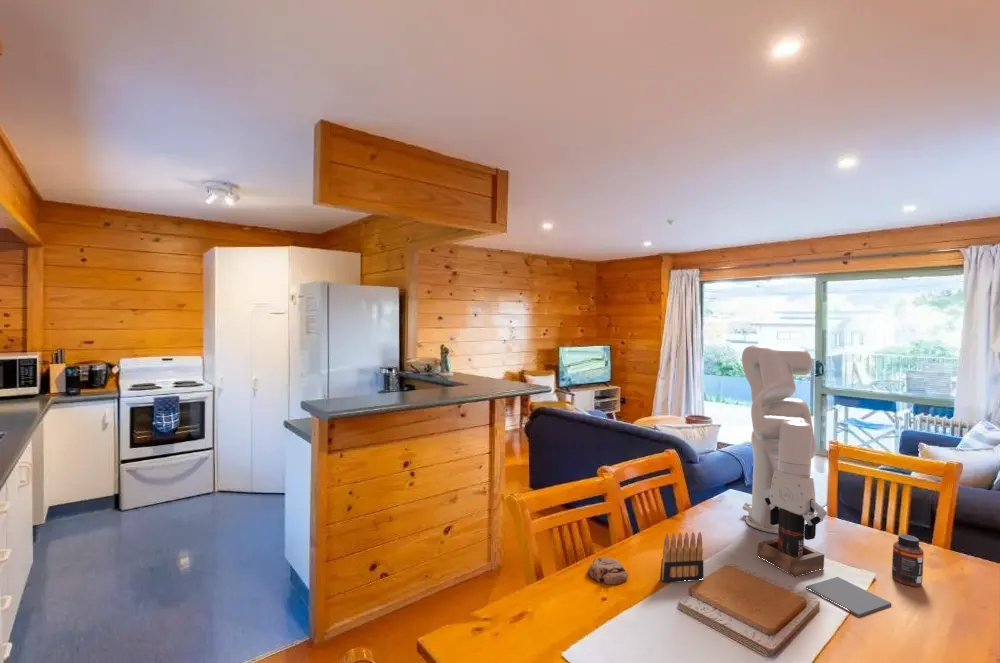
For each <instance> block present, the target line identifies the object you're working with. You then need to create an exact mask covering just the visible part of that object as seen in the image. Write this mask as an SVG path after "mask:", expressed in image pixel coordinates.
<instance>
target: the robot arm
mask: <svg viewBox="0 0 1000 663" xmlns="http://www.w3.org/2000/svg"><path fill="white" fill-rule="evenodd" d="M741 363H742V364H741V365H742V369H743V373H744V376H745V377H746V380H747V381H748V384H749V387H750V392H751V401H752V403H751V407H750V414H751V415H750V416H751V422H752V429H753V431H752V432H751V439H750V440H751V446H752V447H751V448H752V458H753V459H752V462H753V470H752V490H751V491H752V494H751V503H749V502H745V503H744V505H743V506H742V507H741V508H742V511H743V510H744V511H746V512H748V513H747V514H748V515H746V517H745V522H746V523H747V525H749V526H750V527H752V528H754V529H756V530H758V531H761V532H766V533H770V534H778V528H779V508H781V509H784V510H787V511H789V512H791V513H794V514H797V515H800V516H803V517H804V519H805V527H804V540H807V541H808V540H809V541H810V540H814V539H815V538H816V533H817V532H816V531H817V529H816V526H817V525H819V523H821V522H823V520H824V518H825V517H826V516H827V514H828V512H827V511H826V510H825V509H824V508H823V507H822V506H821V505H819V504H818V502H816V488H815V482H814V478H813V475H812V474H811V473H812V471H811V470H812V459H813V458H814V457H815V456H816V450H817V448H816V447H817V446H816V439H815V433H814V427H813V423H812V416H811V415H812V414H811V411H810V408H809V405H808V404H807V402H806V401H804V400H803V399H800V398H793V397H791V396H793V395H794V393H795V392H796V390H797V389H796V384H795V383H796V382H795V380H794V376H807V375H809V374H810V373H811V371H812V368H813V360H812V357H811V354H810V352H809V351H808V350H806V349H805V348H802V347H799V346H795V345H794V346H793V345H773V344H772V345H771V344H755V345H749V346H747V347H746V348H744V349H743V351H742V354H741ZM815 512H816V513H817V514H816V515H815Z"/></svg>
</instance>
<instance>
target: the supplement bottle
mask: <svg viewBox="0 0 1000 663" xmlns="http://www.w3.org/2000/svg"><path fill="white" fill-rule="evenodd" d="M897 539H898V540H897V541H895V542H893V546H892V561H891V562H892V564H891V565H892V567H891V576H892V578H893V579H894V580H895V581H897V582H898V583H901V584H903V585H906V586H910V587H920V586H922V584H923V574H924V556H925V554H924V550H923V549H922V548H921V546H920V540H919V538H917V537H916V536H913V535H909V534H906V533H905V534H903V533H900V534H898V538H897Z"/></svg>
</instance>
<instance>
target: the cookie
mask: <svg viewBox="0 0 1000 663" xmlns="http://www.w3.org/2000/svg"><path fill="white" fill-rule="evenodd" d="M592 562H593V563H592V564H590V565H589V567H588V568H587V573H588V574H589V576H590V578H592V579H593V580H595V581H596V582H597V583H602V584H605V585H610V586H614V585H615V586H616V585H618V584H621V583H624V582H626V581H627V580H628V577H629V573H627V571H626V570H625V567H624V566H623V564H622V563H621V561H619V560H617V559H616V558H612V557H597V558H594V559H593V561H592Z"/></svg>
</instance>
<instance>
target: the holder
mask: <svg viewBox="0 0 1000 663" xmlns="http://www.w3.org/2000/svg"><path fill="white" fill-rule="evenodd" d="M757 556H759V557H760V558H763V559H765V560H767V561H768V562H770V563H772V564H774V565H775V566H777V567H779V568H781V569H783V570H784V571H783V570H782V571H783V572H785V571H786V572H785V573H787V572H788V573H789V575H790V574H791V575H790V576H792V575H793V576H792V577H794V576H795V577H794V578H797V577H796V576H798V577H801V576H803V575H802V574H805V575H807V574H806V573H808V574H810V573H809V572H811V571H815V570H819V569H823V568H824V567H825V554H824V553H822V552H821V551H818V550H816V549H813V548H811V547H809V546H807V545H805V544H804V549H803V556H800V557H796V558H793V557H791V556H789V555H787V554H785V553H783V552H781V551H779V550H778V537H777V538H776V537H775V538H773V539H768V540H764V541H761V542H758V543H757ZM757 556H756V557H757ZM760 558H759V559H760ZM768 562H767V563H768ZM770 563H769V564H770ZM772 564H771V565H772ZM775 566H774V567H775ZM777 567H776V568H777ZM779 568H778V569H779ZM781 569H780V570H781ZM824 569H825V568H824ZM824 569H823V570H824ZM819 571H820V570H819ZM788 573H787V574H788ZM800 575H801V576H800Z"/></svg>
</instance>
